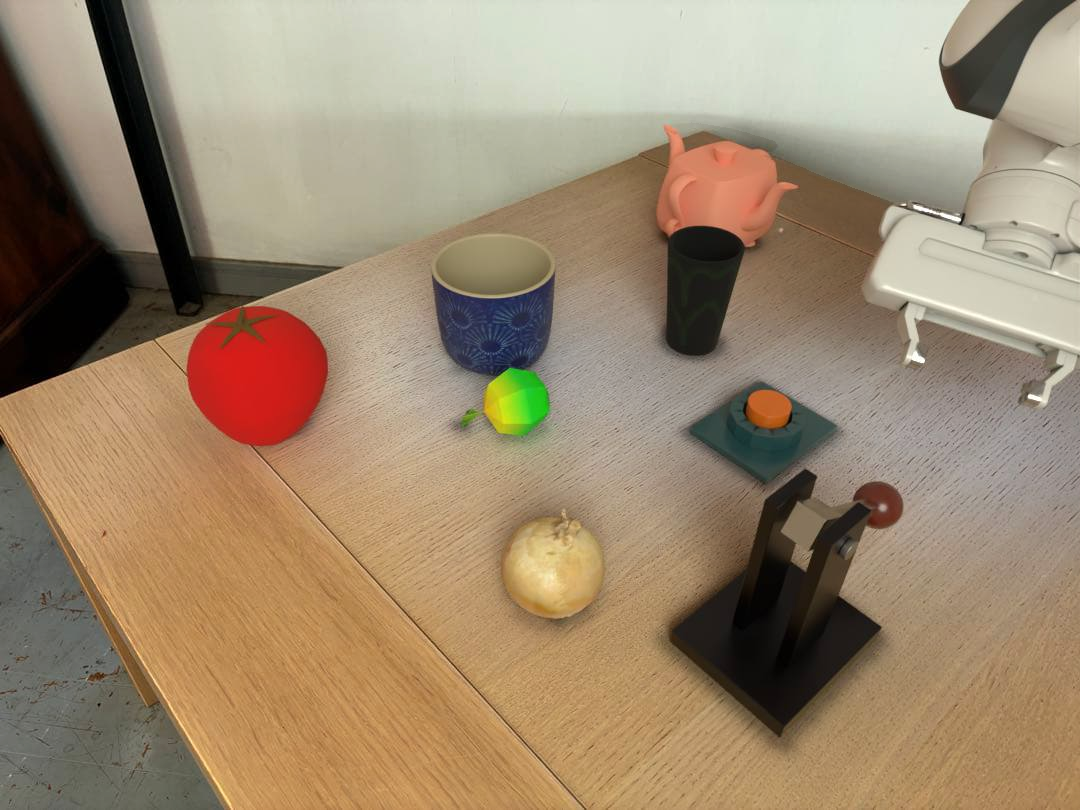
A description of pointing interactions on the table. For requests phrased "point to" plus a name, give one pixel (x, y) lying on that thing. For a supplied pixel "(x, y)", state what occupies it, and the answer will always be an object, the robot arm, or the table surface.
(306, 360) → the tomato
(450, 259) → the planter
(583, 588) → the onion
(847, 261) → the table surface
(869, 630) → the bracket
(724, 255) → the cup
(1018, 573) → the table surface
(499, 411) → the apple
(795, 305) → the table surface
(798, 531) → the lever
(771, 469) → the button box
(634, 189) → the table surface
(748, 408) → the button
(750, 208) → the teapot
